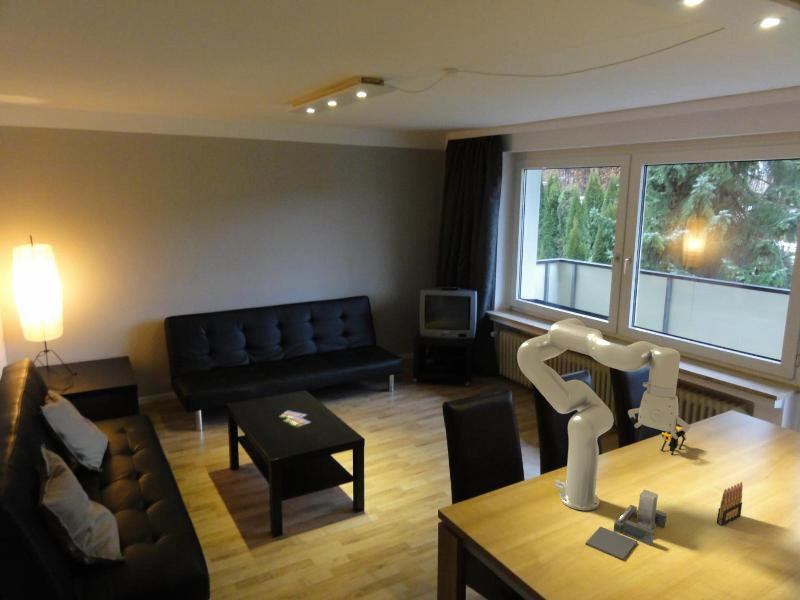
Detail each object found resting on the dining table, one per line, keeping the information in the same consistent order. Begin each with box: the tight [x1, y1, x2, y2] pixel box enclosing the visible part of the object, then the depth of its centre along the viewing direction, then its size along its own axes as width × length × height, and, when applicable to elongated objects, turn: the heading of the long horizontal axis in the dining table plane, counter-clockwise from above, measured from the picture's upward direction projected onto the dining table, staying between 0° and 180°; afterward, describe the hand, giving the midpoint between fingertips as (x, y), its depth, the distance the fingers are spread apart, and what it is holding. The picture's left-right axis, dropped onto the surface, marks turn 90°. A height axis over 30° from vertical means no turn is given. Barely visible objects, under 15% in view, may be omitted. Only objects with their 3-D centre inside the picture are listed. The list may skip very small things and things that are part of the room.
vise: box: [613, 504, 668, 546], centre depth 177 cm, size 11×14×4 cm
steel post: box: [636, 489, 659, 531], centre depth 175 cm, size 4×7×12 cm, turn 139°
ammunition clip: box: [716, 481, 743, 527], centre depth 181 cm, size 11×2×12 cm, turn 122°
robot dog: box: [660, 425, 688, 456], centre depth 228 cm, size 6×18×13 cm, turn 133°
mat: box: [585, 526, 638, 561], centre depth 169 cm, size 11×11×1 cm
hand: (655, 444), depth 171 cm, fingers open, 9 cm apart
